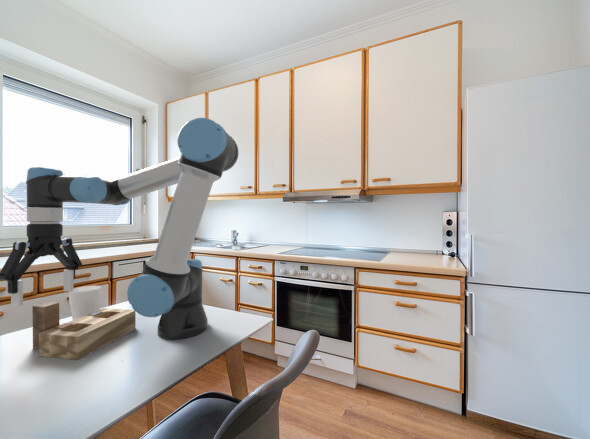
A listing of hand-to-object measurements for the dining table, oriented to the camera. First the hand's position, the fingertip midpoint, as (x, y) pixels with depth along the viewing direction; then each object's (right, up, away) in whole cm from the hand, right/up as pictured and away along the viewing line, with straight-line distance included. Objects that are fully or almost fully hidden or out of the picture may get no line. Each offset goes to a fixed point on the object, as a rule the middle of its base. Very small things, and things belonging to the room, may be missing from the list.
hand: (44, 297), depth 77 cm
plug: (0, -14, 0) cm, 14 cm away
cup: (-1, -14, +17) cm, 22 cm away
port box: (+11, -14, +3) cm, 18 cm away
